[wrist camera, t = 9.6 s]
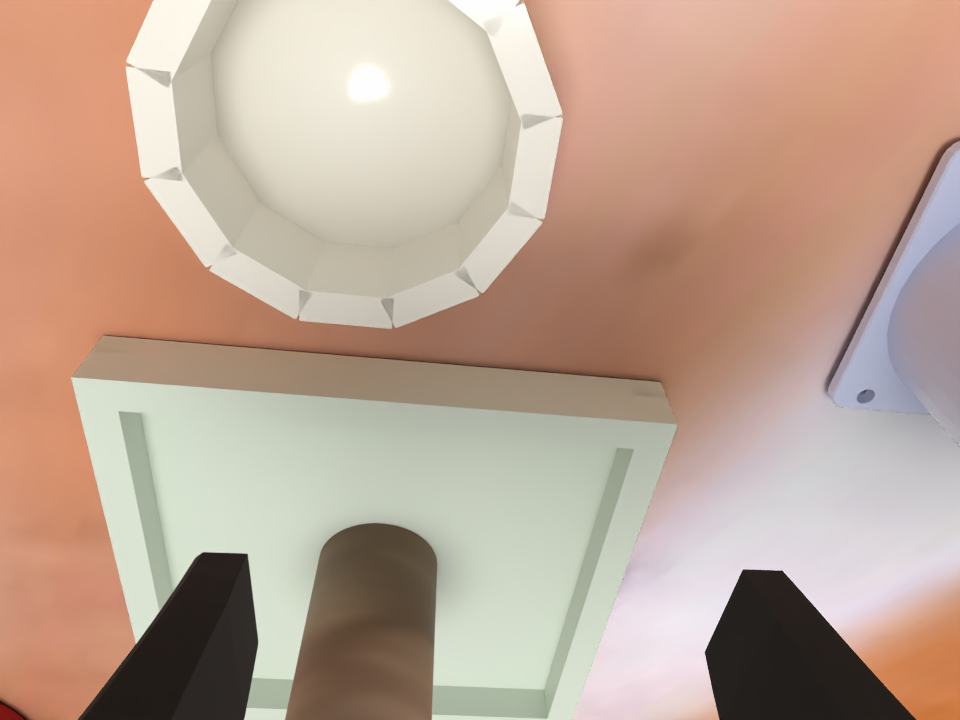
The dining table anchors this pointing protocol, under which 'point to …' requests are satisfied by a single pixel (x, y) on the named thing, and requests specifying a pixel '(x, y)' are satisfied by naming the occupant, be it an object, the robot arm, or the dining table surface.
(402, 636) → the pin
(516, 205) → the bowl
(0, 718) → the canned food
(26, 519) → the dining table surface
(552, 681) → the tray
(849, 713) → the robot arm
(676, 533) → the dining table surface
